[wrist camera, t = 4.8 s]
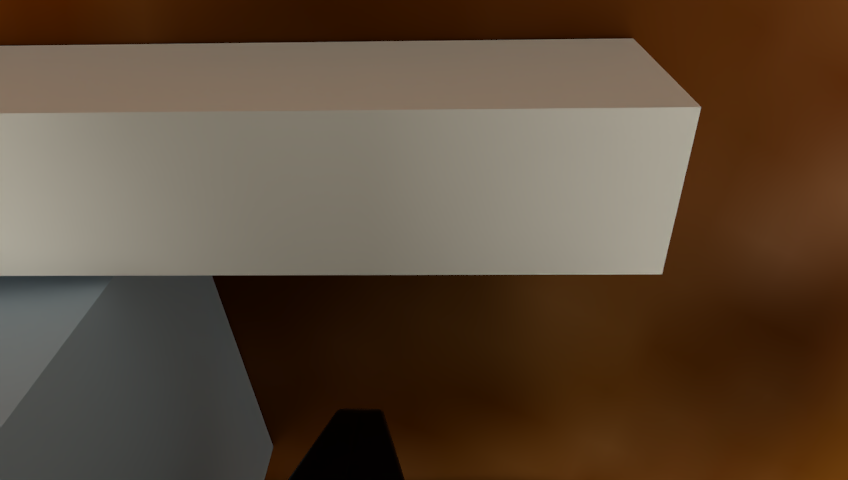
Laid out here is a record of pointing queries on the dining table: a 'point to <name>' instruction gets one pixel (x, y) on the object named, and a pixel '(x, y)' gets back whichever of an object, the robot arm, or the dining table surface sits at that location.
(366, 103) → the chute
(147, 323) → the block
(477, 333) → the dining table surface
